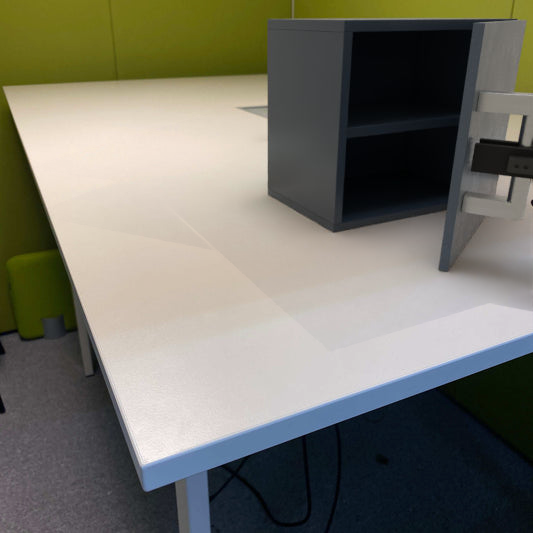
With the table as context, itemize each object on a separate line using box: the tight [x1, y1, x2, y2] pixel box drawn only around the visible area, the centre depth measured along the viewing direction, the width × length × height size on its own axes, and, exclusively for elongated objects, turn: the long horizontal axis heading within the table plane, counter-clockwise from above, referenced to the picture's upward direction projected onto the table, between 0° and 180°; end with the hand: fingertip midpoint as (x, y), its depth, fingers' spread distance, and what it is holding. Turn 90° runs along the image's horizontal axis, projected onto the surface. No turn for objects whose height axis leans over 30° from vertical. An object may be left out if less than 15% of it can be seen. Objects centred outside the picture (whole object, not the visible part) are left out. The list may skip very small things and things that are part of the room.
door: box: [437, 19, 533, 273], centre depth 62 cm, size 7×26×24 cm, turn 149°
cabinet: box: [267, 17, 518, 234], centre depth 76 cm, size 18×26×24 cm
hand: (476, 154), depth 55 cm, fingers closed on door, 2 cm apart
